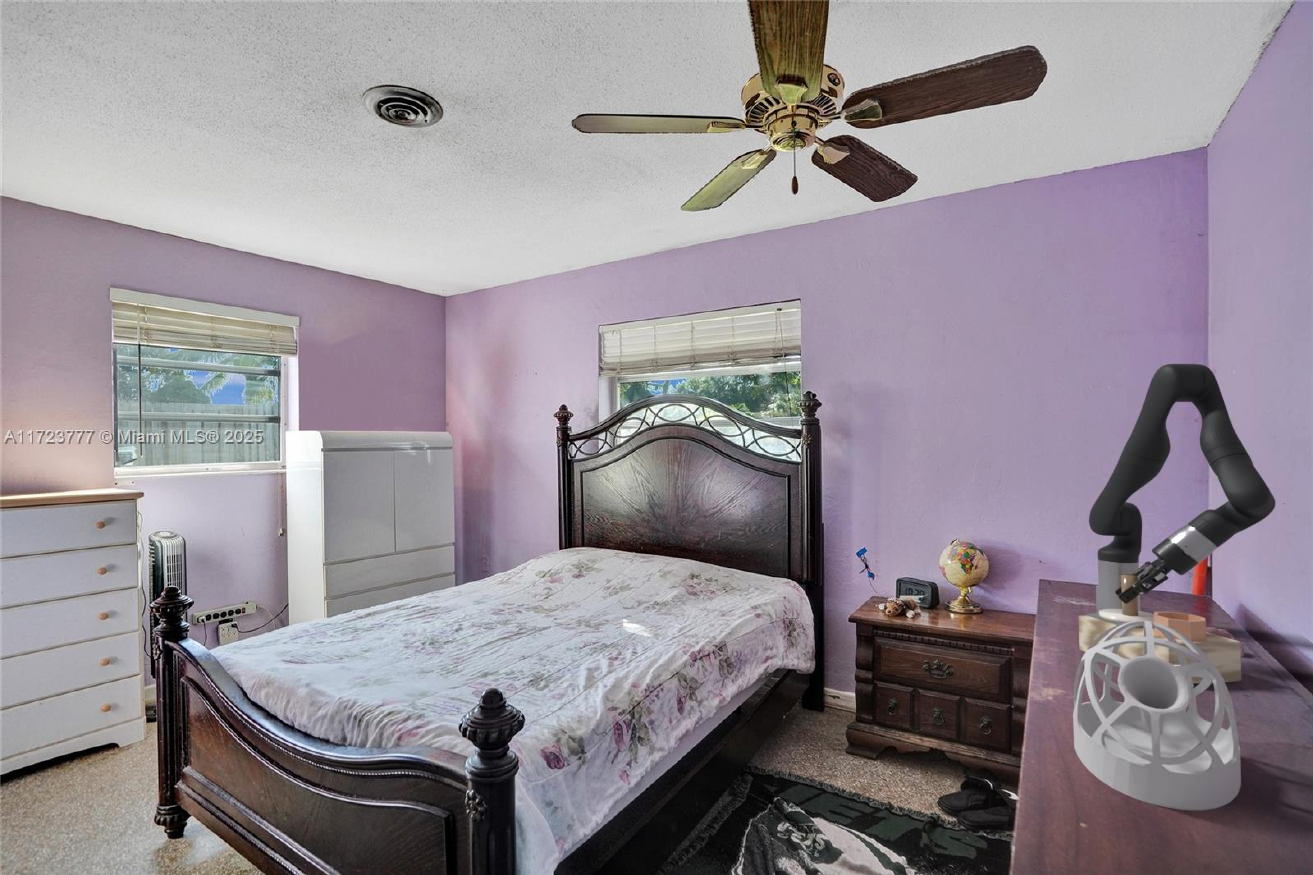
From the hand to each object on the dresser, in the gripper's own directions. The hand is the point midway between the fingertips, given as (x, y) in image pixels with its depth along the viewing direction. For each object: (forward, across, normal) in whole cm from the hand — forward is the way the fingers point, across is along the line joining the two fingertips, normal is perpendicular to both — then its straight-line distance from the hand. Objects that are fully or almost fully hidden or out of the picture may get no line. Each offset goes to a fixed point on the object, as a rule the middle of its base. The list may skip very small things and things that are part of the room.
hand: (1120, 597), depth 150 cm
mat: (+2, 0, +5) cm, 5 cm away
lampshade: (+12, +64, +7) cm, 65 cm away
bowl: (-3, +10, +10) cm, 15 cm away
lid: (+2, 0, +5) cm, 5 cm away
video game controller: (-4, -12, +23) cm, 26 cm away
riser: (+6, +5, +13) cm, 15 cm away
